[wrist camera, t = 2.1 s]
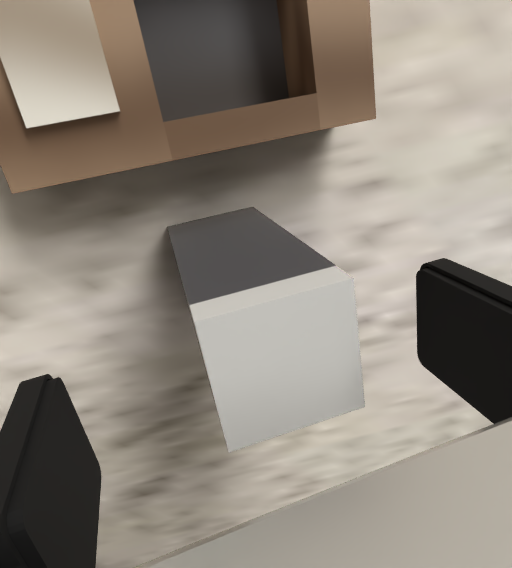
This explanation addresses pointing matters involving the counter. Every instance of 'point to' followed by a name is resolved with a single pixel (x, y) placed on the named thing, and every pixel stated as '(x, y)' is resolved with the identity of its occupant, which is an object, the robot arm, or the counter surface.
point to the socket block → (171, 80)
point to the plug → (269, 325)
